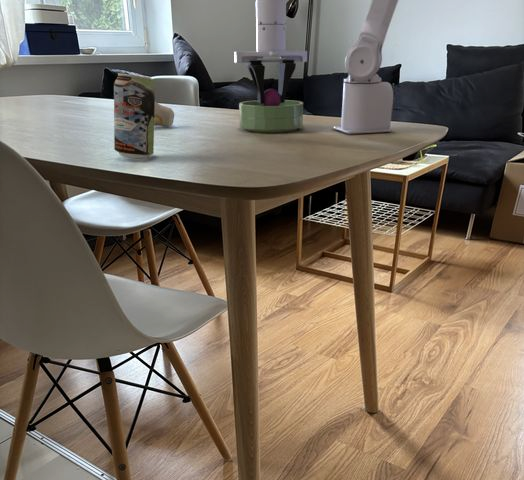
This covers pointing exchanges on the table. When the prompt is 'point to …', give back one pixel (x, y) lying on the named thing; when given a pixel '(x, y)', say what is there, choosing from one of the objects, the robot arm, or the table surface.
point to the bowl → (271, 116)
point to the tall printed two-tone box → (134, 116)
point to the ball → (271, 98)
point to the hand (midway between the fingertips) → (271, 102)
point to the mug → (163, 116)
